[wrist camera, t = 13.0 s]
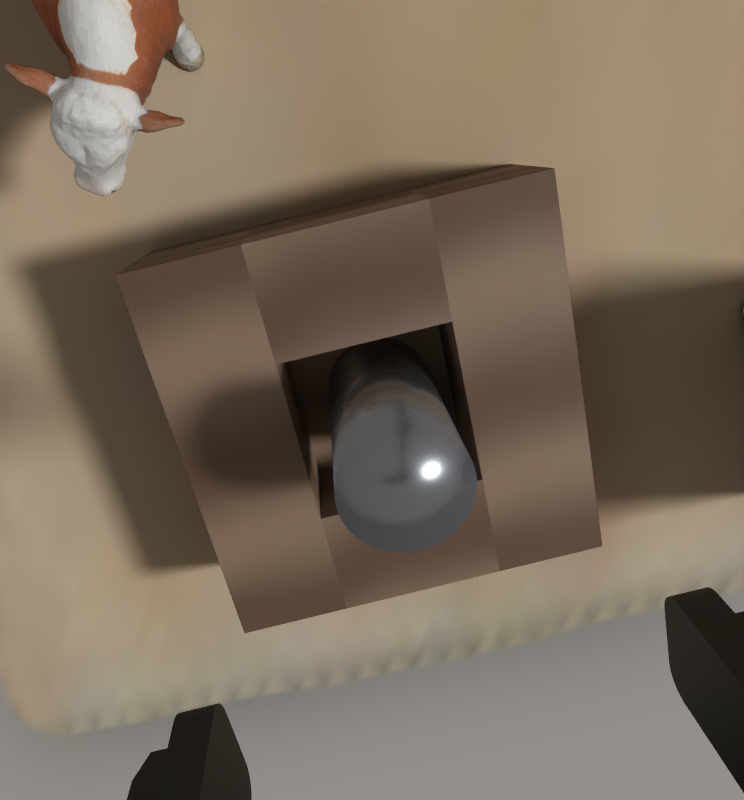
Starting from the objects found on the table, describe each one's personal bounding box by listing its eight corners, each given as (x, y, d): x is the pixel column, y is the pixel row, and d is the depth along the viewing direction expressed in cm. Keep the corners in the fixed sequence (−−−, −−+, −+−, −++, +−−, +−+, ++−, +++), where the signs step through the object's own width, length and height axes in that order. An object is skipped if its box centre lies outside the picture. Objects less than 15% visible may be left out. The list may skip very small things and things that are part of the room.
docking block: (149, 252, 26) (115, 275, 22) (510, 164, 26) (554, 168, 22) (254, 560, 31) (244, 633, 27) (558, 485, 31) (602, 546, 27)
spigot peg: (317, 351, 27) (318, 443, 19) (417, 327, 27) (463, 408, 19) (341, 442, 28) (352, 566, 20) (437, 420, 28) (488, 534, 20)
